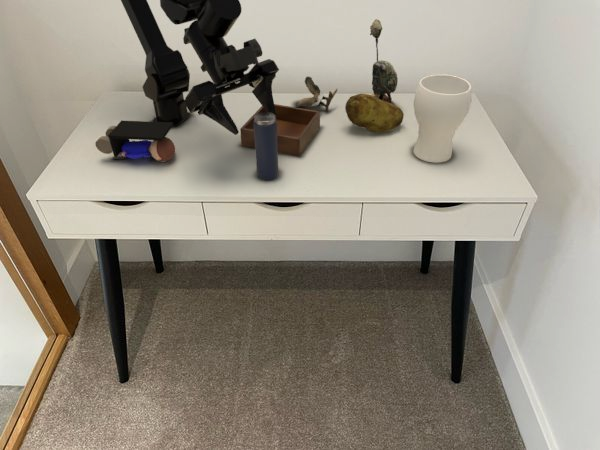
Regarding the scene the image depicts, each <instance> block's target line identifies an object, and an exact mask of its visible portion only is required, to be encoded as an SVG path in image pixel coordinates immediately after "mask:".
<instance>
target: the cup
mask: <svg viewBox="0 0 600 450" xmlns="http://www.w3.org/2000/svg"><path fill="white" fill-rule="evenodd" d="M472 98H473V97H472V85H471V83H470V82H469V81H468V80H467V79H464V78H462V77H459V76H456V75H451V74H444V73H440V74H430V75H427V76H424V77H422V78H421V79H420V81H419V83H418V85H417V87H416V90H415V92H414V99H413V111H414V116H415V120H416V122H417V125H418V135H417V138H416V141H415V144H414V146H413V154H414V156H416V158H418V159H420V160H421V161H423V162H429V163H436V164H437V163H443V162H444V163H445V162H447V161H449V160H450V159H451V158H452V156H453V140H454V136H455V134H456V131H457V130H458V129H459V127H460V126H461V125H462V124H463V123H464V121H465V119H466V117H467V116H468V114H469V112H470V109H471V104H472V101H473V99H472Z"/></svg>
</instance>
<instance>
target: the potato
mask: <svg viewBox="0 0 600 450" xmlns="http://www.w3.org/2000/svg"><path fill="white" fill-rule="evenodd" d="M396 105H397V104H396ZM396 105H393V104H391V103H388V102H385V101H383V100H380V99H378V98H376V97H374V96H372V94H368V93H358V94H354V95H351V96H350V97H349V98H348V99H347V101H346V103H345V107H344V109H345V110H344V111H345V113H346V116H347V118H348V120H349V121H350V122H351V124H353V125H354V126H357V127H358V128H361V129H365V130H367V131H369V132H373V133H386V132H390V131H393V130H394V129H396V128H398V127H399V126H400V125H401V124H403V121H404V116H405V115H404V111H403V110H402V109H401V107H400V106H398V105H397V106H396Z"/></svg>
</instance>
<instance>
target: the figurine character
mask: <svg viewBox="0 0 600 450" xmlns="http://www.w3.org/2000/svg"><path fill="white" fill-rule="evenodd" d="M173 127H174V126H173V122H153V121H147V120H146V121H145V120H144V121H143V120H120V121H119V122H118V124H117V125H111V126H109V127H108V128H107V129H106V131H105V135H102V136H100V137H99V138H98V139H97V140H95V147H96V149H97V151H99V152H100V153H102V154H106V155H108V154H113V157H112V159H113V160H125V159H127V158H129V159H132V160H135V159H140V158H143V157H144V158H148V157H152V158H153V159H154V160H156V161H158V162H162V163H163V162H168V161H170V160H171V159H172V158H173V157H174V156H175V153H176V146H175V143H174V141H172V140H171V138H169V137H166V136H167V135H168V134H169V132H170V131H171V129H172V128H173ZM130 140H131V141H130ZM120 155H121V156H120Z"/></svg>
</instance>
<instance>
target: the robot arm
mask: <svg viewBox="0 0 600 450" xmlns="http://www.w3.org/2000/svg"><path fill="white" fill-rule="evenodd" d="M120 1H121V3H122V7H123V8H124V10H125V13H126V15H127V17H128V19H129V21H130V23H131V25H132V29H134V32H135V34H136V36H137V38H138V40H139V43H140V45H141V47H142V49H143V52H144V54H145V64H144V71H145V75H146V79H145V81H144V83H143V85H142V86H141V88H142V90H143V93H144V95H145V97H146V98H147V99H149V100H151V101H152V104H153V108H154V113H155V117H154V118H153V119H152V120H151V122H173V126H172V127H178V126H180V125H181V124H182V123H183V122H184V121H185V120H187V119H188V118H189V117H190V116H191V114H193V113H196V112H197V114H198V115H199V116H201V115H204V116H206V117H207V118H209V119H211V120H212V121H214V122H216V123H217V124H218V125H220V126H222V128H225V129H226V130H227V131H229V132H230V133H231V134H233V135H234V136H237V135H238V134H239V133H240V131H239V128H238V127H237V124H236V122H235V121H234V120H233V118H232V116H231V115H230V113H229V112H228V110H227V108H226V106H225V105H224V100H223V95H224V94H226V93H229V92H232V91H234V90H237V89H239V88H243V87H245V86H247V85H248V86H249V87H251V88H253V90H252V91H251V93H252V94H253V95H254V96H255V98H256V99H257V101H258V102H259V103H260V105H261V106H263V107H264V109H265V110H266V111H267V112H269V113H273V114H274V115H275V117H276V111H275V106H274V104H275V102H274V96H273V88H272V87H273V86H272V85H273V81H274V80H275V79H276V76H277V73H278V72H279V71H280V69H279V67H278V65H277V64H276V62H275V60H273V59H270V58H268V59H265V60H261V61H260V62H259V60H258V58H260V57H262V56H263V50H262V46H261V45H260V44H259V41H258V40H257V39H256V38H252V39H249V40H246V41H244V42H243V47H242V48H240V49H237V48H236V46H235V45H233V44H230V45H228V43H227V41H226V40H225V38H224V37H226V36H227V35H228V34H229V33H230V31H231V29H232V28H233V26H234V25H235V24H236V22H237V20H238V19H239V18H240V16H241V14H242V4H241V2H240V0H159V4H160V8H161V10H162V11H163V12H164V14H165V16H166V17H167V18H168V20H169V21H170V22H171V23H172V24H174V25H183V24H185V23H189V22H191V23H190V25H189V26H188V27H186V28H184V29H183V30H184V33H183V34H184V35H183V37H182V38H183V39H182V40H183V44H184V45H188V44H191V46H192V48H193V50H194V52H195V53H196V55H197V57H198V59H199V60H200V62H201V66H200V70H201V71H202V73H205V72H207V74H208V75H209V77H210V79H211V80H212V81H210V80H207V81H203V82H201V83H198V84H195V85H193V86H192V87H191V89H190V77H191V75H190V74H191V73H190V71H189V68H188V66H187V64H186V62H185V60H184V57H183V56H182V53H181V51H179V49H176V50H173V49H172V48H171V47H170V46H168V45H167V41H166V40H165V38H164V36H163V33H162V31H161V28H160V27H159V25H158V22H157V20H156V17H155V15H154V13H153V11H152V8H151V6H150V4H149V1H148V0H120ZM251 65H253V66H252V67H251V69H250V66H251ZM248 69H250V70H249V71H248ZM247 71H248V72H247ZM245 72H247V73H245ZM185 92H188V93H187V94H186V96H185V98H184V93H185Z"/></svg>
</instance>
